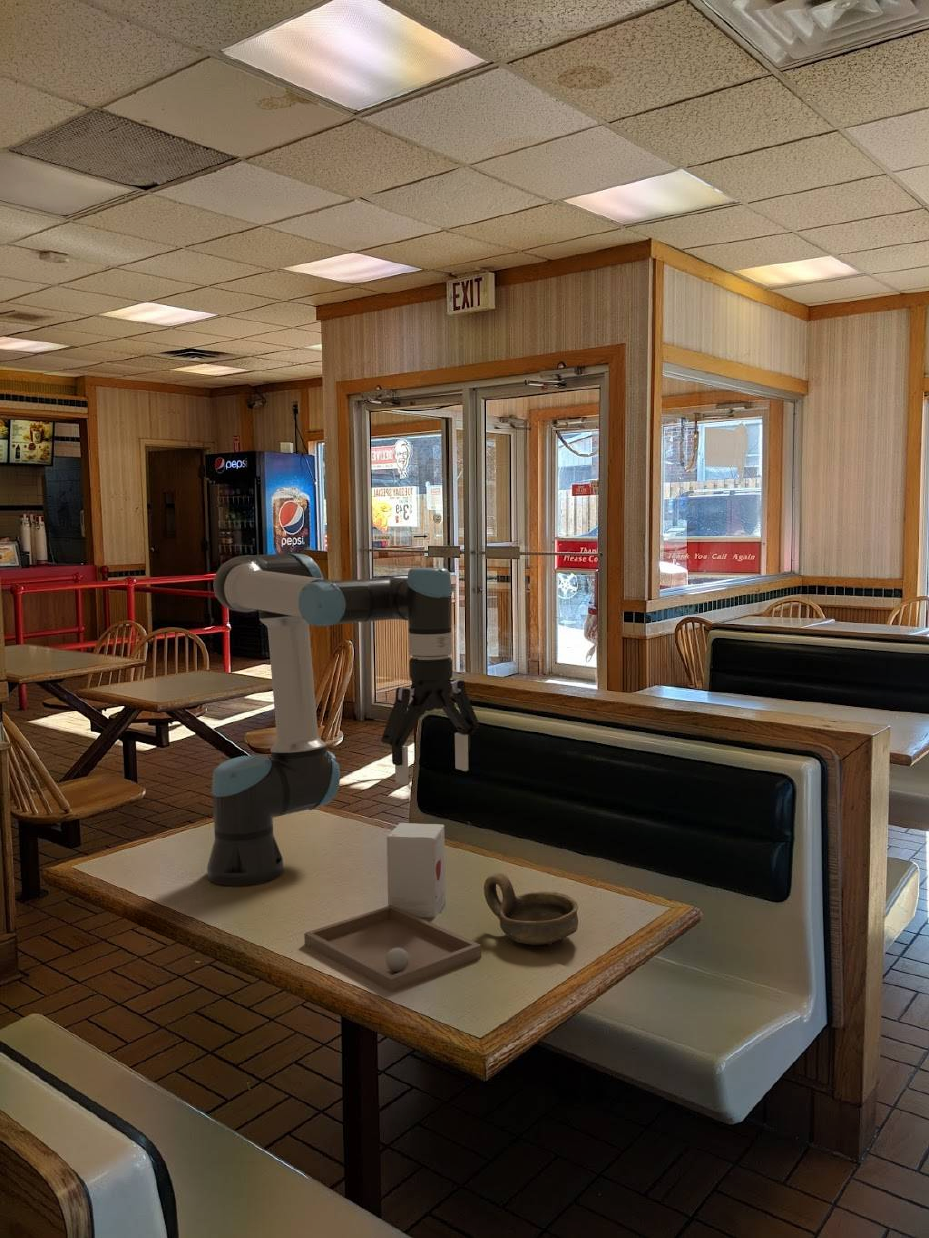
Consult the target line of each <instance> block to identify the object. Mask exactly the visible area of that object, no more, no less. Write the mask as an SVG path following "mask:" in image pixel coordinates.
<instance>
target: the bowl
mask: <svg viewBox="0 0 929 1238" xmlns="http://www.w3.org/2000/svg"><path fill="white" fill-rule="evenodd" d="M497 885H498V886H499V888H500V891H501V895H502V900H500V897H499V895H498V892H497ZM483 894H484V898H485V900H486V904H487V905H488V907H489V909H490V910H491V911H492V913H493V914H494V915H495V916H496V917H497V918H498V920H499V927H500V930H501V931H502V932H504V934H505V935H506V936H507V937H508V938H510V939H511V940H513V941H514V942H516V943H517V944H518V943H520V944H524V945H525V944H526V945H530V946H531V945H532V946H535V945H536V946H537V945H538V946H541V945H542V946H543V945H550V946H551V945H552V944H553V943H555V942H557V941H559V940H562V939H565V938H567V937H569V936H572V935H573V934H575V933H576V932H577V930H578V925H579V917H578V908H579V904H578V902H577V901H576V900H575V899H573V898H572V897H571V896H569V895H568V894H565V893H560V892H556V891H537V892H530V893H524V894H521V895H517V896H516V894H515V890H514V887H513V884H512V882H511V880H510V878H509V876H507V875H506V874H504V873H502V872H496V873H494V874H492V875H489V876H488V877H487V878H486V879H485V881H484V885H483Z"/></svg>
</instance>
